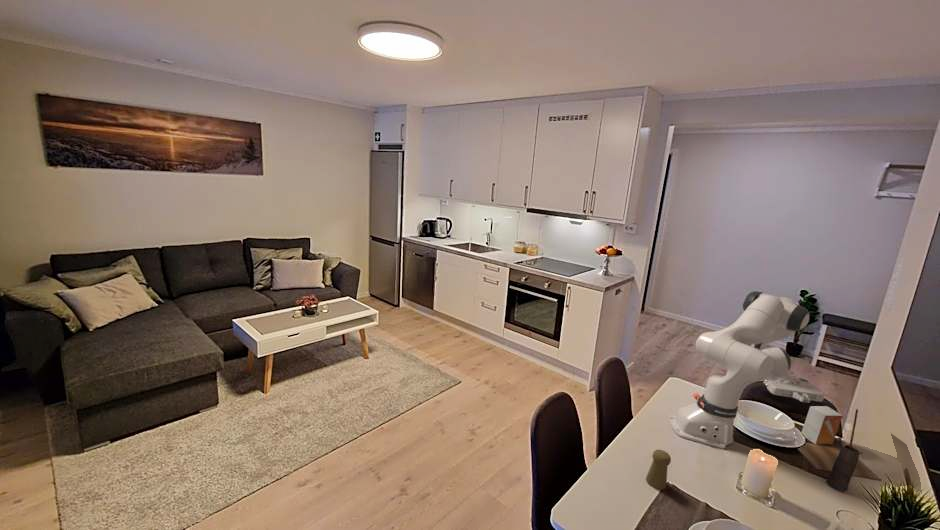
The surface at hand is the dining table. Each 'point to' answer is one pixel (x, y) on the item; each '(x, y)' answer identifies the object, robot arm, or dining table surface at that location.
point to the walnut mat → (832, 460)
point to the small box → (821, 424)
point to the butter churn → (844, 465)
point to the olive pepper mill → (658, 470)
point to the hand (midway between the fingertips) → (806, 400)
